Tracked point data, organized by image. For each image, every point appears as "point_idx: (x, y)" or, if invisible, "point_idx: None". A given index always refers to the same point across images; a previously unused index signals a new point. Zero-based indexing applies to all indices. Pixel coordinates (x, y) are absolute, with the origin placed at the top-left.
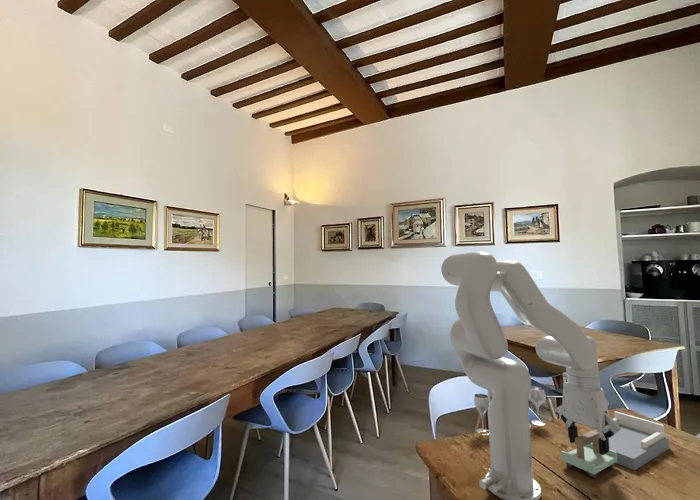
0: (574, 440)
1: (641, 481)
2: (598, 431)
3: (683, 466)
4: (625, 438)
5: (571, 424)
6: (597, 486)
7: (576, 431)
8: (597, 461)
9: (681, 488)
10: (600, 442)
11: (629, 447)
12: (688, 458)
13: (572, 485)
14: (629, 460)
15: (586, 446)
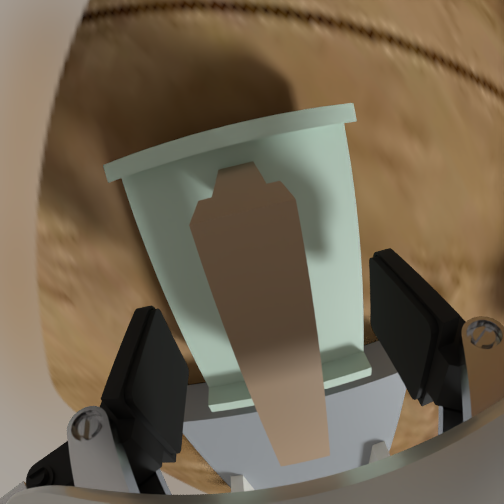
0: (376, 291)
1: (110, 345)
2: (107, 473)
3: (178, 469)
4: (303, 474)
5: (460, 375)
6: (101, 127)
7: (401, 365)
8: (194, 274)
9: (77, 397)
10: (116, 376)
11: (252, 458)
12: (207, 488)
13: (149, 10)
14: (192, 409)
15: (347, 350)
